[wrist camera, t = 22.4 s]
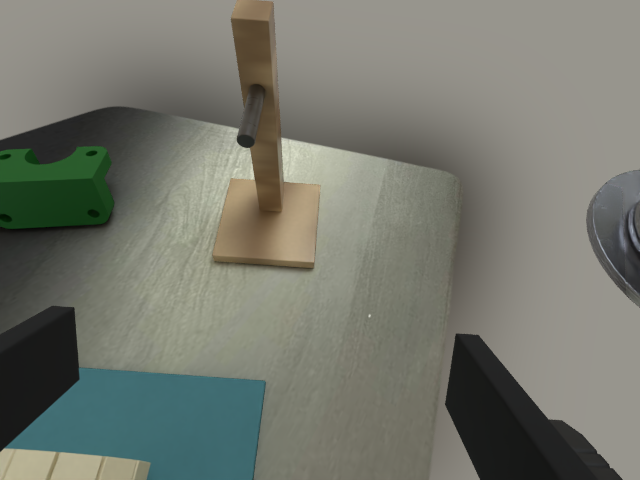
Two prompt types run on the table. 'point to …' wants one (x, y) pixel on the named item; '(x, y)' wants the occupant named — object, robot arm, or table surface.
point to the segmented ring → (68, 466)
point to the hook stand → (264, 161)
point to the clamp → (54, 189)
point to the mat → (156, 423)
